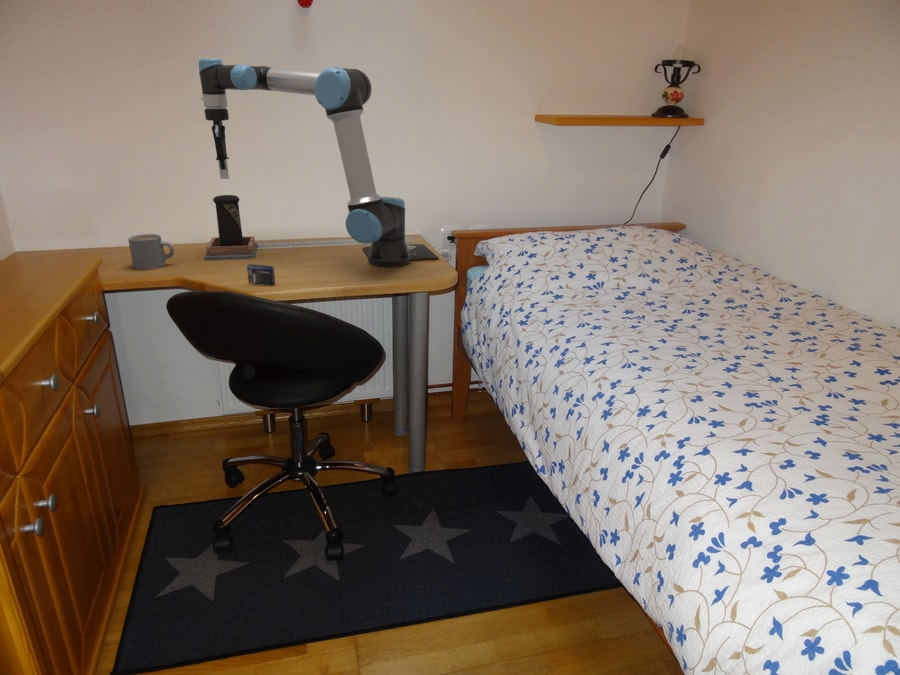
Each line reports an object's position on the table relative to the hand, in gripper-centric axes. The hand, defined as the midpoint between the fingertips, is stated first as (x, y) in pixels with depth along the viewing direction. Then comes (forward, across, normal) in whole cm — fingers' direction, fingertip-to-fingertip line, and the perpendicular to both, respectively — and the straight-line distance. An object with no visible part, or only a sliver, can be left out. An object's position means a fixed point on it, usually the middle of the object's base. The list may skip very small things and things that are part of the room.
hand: (224, 178), depth 220 cm
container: (+26, 0, -1) cm, 26 cm away
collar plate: (+27, 0, -1) cm, 27 cm away
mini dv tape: (+28, +41, +12) cm, 51 cm away
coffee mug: (+27, +15, -25) cm, 39 cm away
